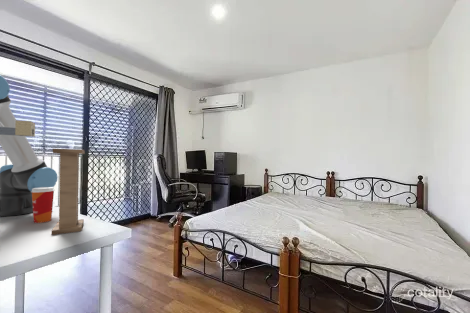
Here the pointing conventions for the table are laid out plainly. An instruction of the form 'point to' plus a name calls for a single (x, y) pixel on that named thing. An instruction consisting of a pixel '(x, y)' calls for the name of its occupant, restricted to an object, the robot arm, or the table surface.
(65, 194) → the stand
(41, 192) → the paper cup
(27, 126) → the gray and beige block
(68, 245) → the table surface
